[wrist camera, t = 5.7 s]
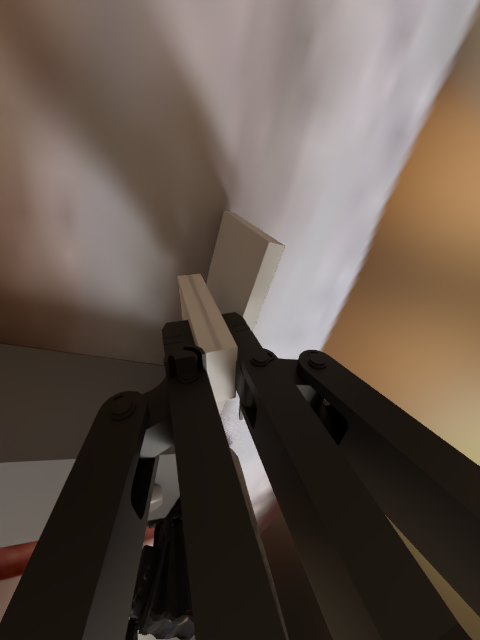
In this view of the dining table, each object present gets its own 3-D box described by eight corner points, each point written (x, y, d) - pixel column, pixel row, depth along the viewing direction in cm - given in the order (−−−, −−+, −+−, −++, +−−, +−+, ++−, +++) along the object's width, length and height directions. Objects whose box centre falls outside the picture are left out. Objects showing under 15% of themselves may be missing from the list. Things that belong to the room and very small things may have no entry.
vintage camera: (112, 448, 26) (43, 904, 10) (237, 443, 33) (312, 712, 17) (99, 492, 30) (35, 866, 14) (212, 480, 37) (254, 724, 21)
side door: (220, 209, 15) (266, 241, 10) (248, 217, 16) (305, 251, 10) (182, 370, 22) (195, 446, 16) (203, 370, 22) (223, 442, 17)
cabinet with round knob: (-53, 429, 18) (-175, 599, 11) (-56, 335, 15) (-235, 498, 8) (160, 429, 26) (166, 529, 19) (191, 369, 22) (211, 464, 16)
